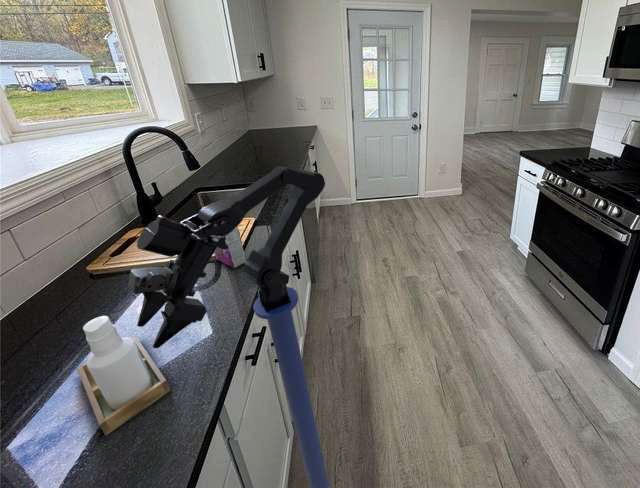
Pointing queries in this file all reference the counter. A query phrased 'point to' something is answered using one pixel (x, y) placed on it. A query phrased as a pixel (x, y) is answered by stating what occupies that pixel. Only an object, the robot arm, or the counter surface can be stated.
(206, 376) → the counter surface
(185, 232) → the robot arm
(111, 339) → the spray bottle
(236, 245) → the candy bar box
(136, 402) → the holder
